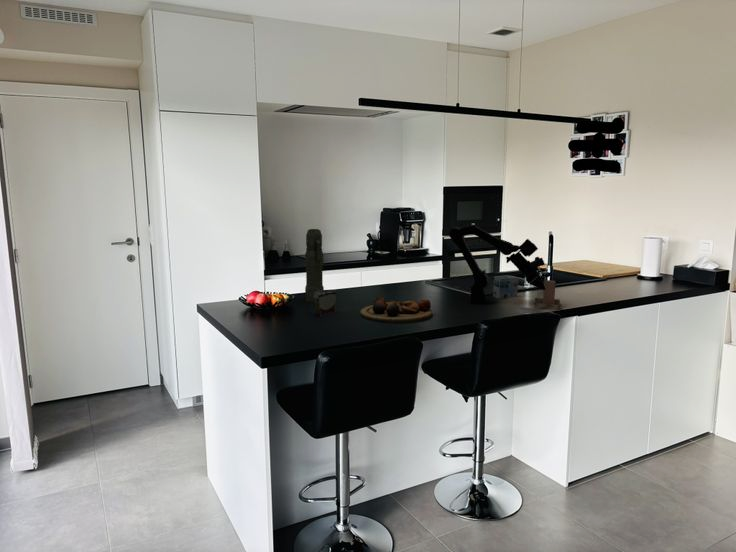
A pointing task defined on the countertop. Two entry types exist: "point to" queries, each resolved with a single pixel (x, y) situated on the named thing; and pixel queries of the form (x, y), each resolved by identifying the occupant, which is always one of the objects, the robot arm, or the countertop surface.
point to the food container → (325, 302)
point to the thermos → (313, 264)
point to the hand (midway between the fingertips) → (544, 287)
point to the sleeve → (540, 304)
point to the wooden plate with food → (397, 311)
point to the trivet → (525, 310)
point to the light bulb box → (505, 287)
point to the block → (549, 292)
